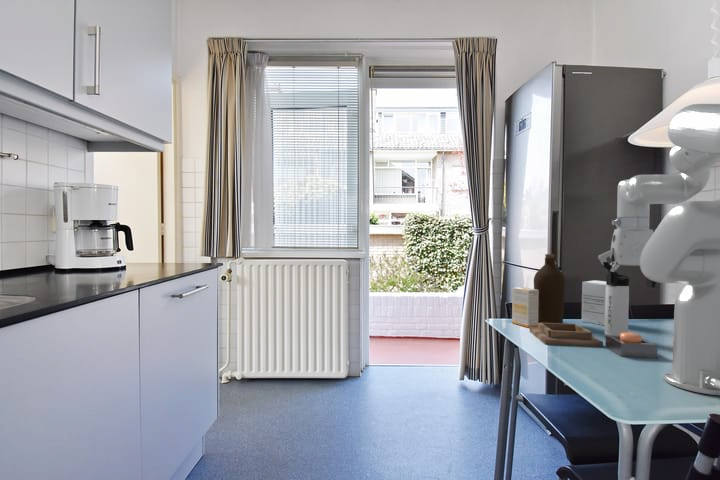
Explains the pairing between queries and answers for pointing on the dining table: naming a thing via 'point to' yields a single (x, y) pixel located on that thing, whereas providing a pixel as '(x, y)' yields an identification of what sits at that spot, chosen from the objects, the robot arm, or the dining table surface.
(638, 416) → the dining table surface
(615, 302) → the travel mug
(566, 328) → the tan flat square tray
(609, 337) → the button housing
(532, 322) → the supplement box
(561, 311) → the olive oil
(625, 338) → the button
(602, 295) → the supplement box
